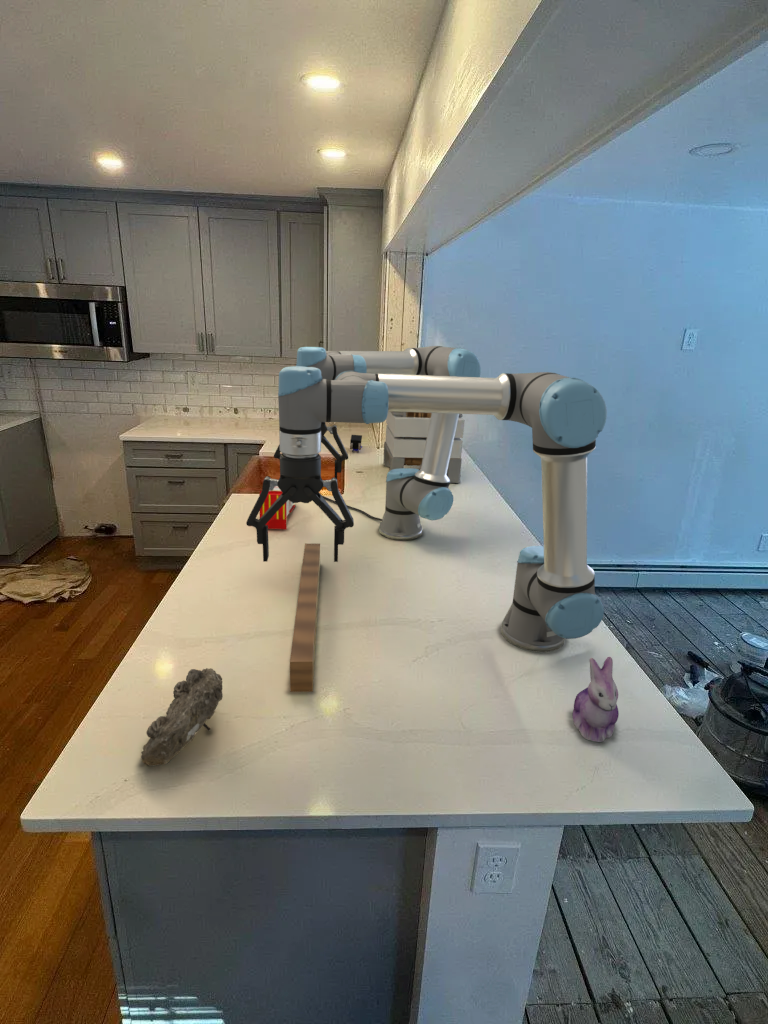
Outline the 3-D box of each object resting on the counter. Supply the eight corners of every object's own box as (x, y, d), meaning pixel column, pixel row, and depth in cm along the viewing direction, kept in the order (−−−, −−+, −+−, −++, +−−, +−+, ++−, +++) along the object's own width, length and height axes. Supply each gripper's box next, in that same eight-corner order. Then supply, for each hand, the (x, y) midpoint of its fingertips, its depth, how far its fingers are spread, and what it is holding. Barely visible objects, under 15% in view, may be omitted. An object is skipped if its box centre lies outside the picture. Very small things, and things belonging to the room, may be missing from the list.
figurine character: (361, 456, 307) (362, 446, 320) (362, 442, 303) (362, 433, 317) (349, 455, 306) (350, 446, 320) (349, 442, 303) (350, 433, 316)
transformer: (382, 463, 289) (386, 382, 275) (445, 464, 293) (451, 384, 279) (390, 482, 257) (394, 392, 243) (460, 483, 261) (468, 394, 247)
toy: (299, 479, 223) (289, 492, 194) (299, 512, 226) (289, 530, 197) (268, 478, 223) (253, 491, 193) (268, 512, 225) (254, 529, 196)
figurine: (597, 751, 104) (612, 683, 98) (557, 717, 112) (569, 652, 107) (633, 736, 108) (649, 669, 103) (592, 704, 116) (605, 641, 111)
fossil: (171, 669, 114) (224, 637, 109) (205, 700, 117) (257, 670, 112) (115, 759, 95) (175, 724, 90) (157, 793, 97) (218, 762, 92)
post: (305, 565, 173) (305, 543, 170) (320, 565, 173) (320, 543, 171) (290, 691, 116) (289, 661, 114) (312, 691, 116) (312, 661, 114)
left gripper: (262, 408, 147) (264, 486, 154) (358, 410, 149) (356, 487, 156) (265, 403, 154) (267, 478, 161) (357, 406, 156) (355, 480, 163)
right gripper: (227, 457, 99) (233, 566, 107) (369, 460, 102) (365, 567, 109) (234, 447, 107) (239, 550, 114) (367, 450, 109) (363, 551, 116)
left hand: (311, 483), depth 159 cm, fingers open, 13 cm apart
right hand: (301, 559), depth 111 cm, fingers open, 13 cm apart
